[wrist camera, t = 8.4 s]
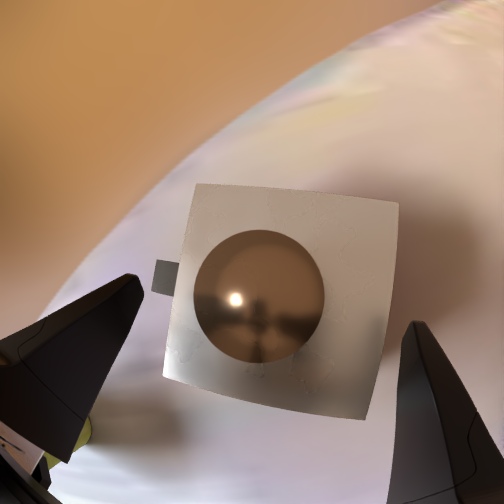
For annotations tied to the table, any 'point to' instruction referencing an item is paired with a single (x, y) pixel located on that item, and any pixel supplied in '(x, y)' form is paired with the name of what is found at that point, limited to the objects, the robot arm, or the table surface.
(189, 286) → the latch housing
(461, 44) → the table surface
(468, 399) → the robot arm
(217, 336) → the bronze domed cylinder
